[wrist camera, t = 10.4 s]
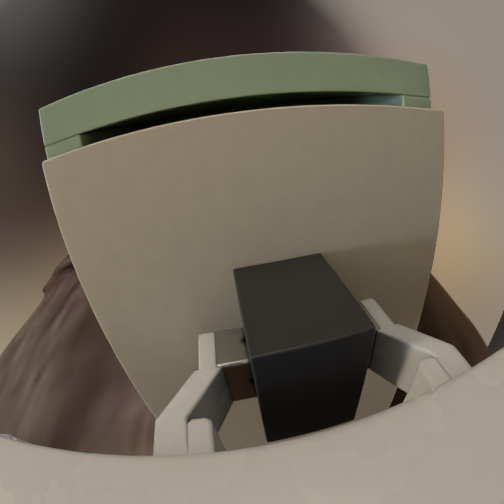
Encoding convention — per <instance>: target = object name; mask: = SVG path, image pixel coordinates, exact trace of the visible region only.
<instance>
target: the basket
mask: <svg viewBox="0 0 504 504" xmlns="http://www.w3.org/2000/svg"><path fill="white" fill-rule="evenodd" d="M42 165H43V170H44V174H45V178H46V182H47V186H48V190H49V193H50V197H51V201H52V204H53V208H54V211H55V214H56V218H57V221H58V224H59V227H60V230H61V233H62V236H63V239H64V241H65V244H66V247H67V250H68V252H69V255H70V258H71V260H72V263H73V266H74V268H75V271H76V273H77V276H78V278H79V280H80V283H81V285H82V287H83V290H84V292H85V294H86V296H87V299H88V301H89V303H90V305H91V307H92V309H93V312H94V314H95V316H96V318H97V320H98V322H99V324H100V326H101V328H102V330H103V332H104V334H105V336H106V338H107V339H108V341H109V343H110V345H111V347H112V349H113V351H114V352H115V354H116V356H117V358H118V360H119V361H120V363H121V365H122V366H123V368H124V370H125V372H126V373H127V375H128V377H129V378H130V380H131V381H132V383H133V385H134V386H135V388H136V389H137V391H138V393H139V394H140V396H141V397H142V399H143V400H144V402H145V403H146V405H147V406H148V408H149V409H150V411H151V412H152V414H153V415H154V416H155V418H156V419H157V418H158V417H159V416H160V415H161V413H162V412H163V411H164V410H165V408H166V407H167V406H168V404H169V403H170V402H171V401H172V399H173V398H174V397H175V396H176V394H177V393H178V392H179V390H180V389H181V388H182V387H183V385H184V384H185V383H186V381H187V380H188V379H189V377H190V376H191V375H192V374H193V372H194V371H197V370H199V339H198V337H199V334H204V333H211V332H216V331H223V330H230V329H236V328H244V333H245V338H246V343H247V348H248V353H249V358H250V363H251V368H252V373H253V378H254V383H255V388H256V393H257V397H253V398H249V399H244V400H238V401H233V404H232V406H231V408H230V410H229V412H228V414H227V416H226V418H225V420H224V422H223V424H222V426H221V428H220V430H219V432H218V435H219V437H220V439H221V441H222V443H223V445H224V447H225V449H226V451H228V450H236V449H243V448H249V447H255V446H261V445H266V444H271V443H276V442H281V441H285V440H290V439H294V438H298V437H302V436H306V435H310V434H314V433H318V432H321V431H325V430H328V429H331V428H335V427H338V426H341V425H344V424H347V423H351V422H353V421H356V420H359V419H362V418H365V417H368V416H370V415H373V414H376V413H378V412H381V411H384V410H386V409H389V407H390V405H391V402H392V400H393V397H394V395H395V392H396V390H397V386H395V385H393V384H392V383H390V382H389V381H387V380H385V379H384V378H382V377H381V376H379V375H378V374H376V373H374V372H373V371H371V370H370V368H368V364H369V360H370V355H371V350H372V346H373V341H374V335H375V330H376V327H375V325H374V324H373V323H372V321H371V320H370V318H369V317H368V316H367V314H366V313H365V311H364V310H363V309H362V307H361V306H360V305H359V303H358V302H359V301H362V300H366V299H369V298H372V299H374V300H375V301H376V302H377V304H378V305H379V306H380V307H381V308H382V310H383V311H384V312H385V313H386V315H387V316H388V317H389V318H390V319H391V321H392V322H393V323H394V324H395V325H396V324H400V325H403V326H405V327H408V328H410V329H413V330H415V331H417V328H418V324H419V321H420V317H421V313H422V309H423V305H424V301H425V297H426V293H427V288H428V284H429V279H430V274H431V269H432V264H433V259H434V253H435V247H436V240H437V234H438V226H439V217H440V208H441V199H442V186H443V169H444V114H443V111H442V110H436V109H427V108H417V107H405V106H389V105H358V104H337V105H306V106H289V107H276V108H265V109H256V110H247V111H239V112H232V113H225V114H218V115H212V116H205V117H200V118H194V119H189V120H184V121H179V122H174V123H169V124H164V125H160V126H155V127H151V128H147V129H143V130H139V131H135V132H131V133H127V134H124V135H120V136H117V137H113V138H110V139H106V140H103V141H100V142H96V143H93V144H90V145H87V146H84V147H81V148H78V149H75V150H72V151H69V152H66V153H64V154H61V155H58V156H56V157H53V158H50V159H48V160H45V161H43V162H42Z"/></svg>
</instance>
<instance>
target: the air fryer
mask: <svg viewBox="0 0 504 504" xmlns="http://www.w3.org/2000/svg"><path fill="white" fill-rule="evenodd" d="M429 97H430V89H429V78H428V69H427V65H425V64H421V63H416V62H411V61H405V60H399V59H393V58H386V57H378V56H369V55H360V54H348V53H329V52H273V53H257V54H244V55H234V56H225V57H217V58H210V59H203V60H197V61H191V62H186V63H180V64H175V65H171V66H166V67H162V68H157V69H153V70H149V71H145V72H141V73H137V74H133V75H130V76H126V77H123V78H120V79H116V80H113V81H110V82H107V83H104V84H100V85H98V86H95V87H92V88H89V89H86V90H83V91H81V92H78V93H76V94H73V95H70V96H68V97H66V98H63V99H61V100H58V101H56V102H54V103H51V104H49V105H47V106H45V107H42V108H40V109H39V115H40V122H41V128H42V134H43V140H44V145H45V146H47V147H46V148H45V150H46V155H47V159H50V158H53V157H56V156H58V155H61V154H64V153H66V152H69V151H72V150H75V149H78V148H81V147H84V146H87V145H90V144H93V143H96V142H100V141H103V140H106V139H110V138H113V137H117V136H120V135H124V134H127V133H131V132H135V131H139V130H143V129H147V128H151V127H155V126H160V125H164V124H169V123H174V122H179V121H184V120H189V119H194V118H200V117H205V116H212V115H218V114H225V113H232V112H239V111H247V110H256V109H265V108H276V107H289V106H306V105H337V104H358V105H389V106H405V107H417V108H427V109H431V101H430V99H429Z"/></svg>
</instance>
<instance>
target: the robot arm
mask: <svg viewBox="0 0 504 504" xmlns="http://www.w3.org/2000/svg"><path fill="white" fill-rule="evenodd" d="M358 303H359V305H360V306H361V307H362V309H363V310H364V311H365V313H366V314H367V316H368V317H369V318H370V320H371V321H372V323H373V324H374V325H375V327H376V330H375V335H374V341H373V346H372V350H371V355H370V360H369V364H368V368H370V370H371V371H373V372H374V373H376V374H378V375H379V376H381V377H382V378H384V379H385V380H387V381H389V382H390V383H392V384H393V385H395V386H397V387H398V388H400V389H401V390H403V391H405V392H406V393H407V395H406V397H405V399H404V401H403V403H401V404H398V405H396V406H394V407H391V408H389V409H386V410H384V411H381V412H378V413H376V414H373V415H370V416H368V417H365V418H362V419H359V420H356V421H353V422H351V423H347V424H344V425H341V426H338V427H335V428H331V429H328V430H325V431H321V432H318V433H314V434H310V435H306V436H302V437H298V438H294V439H290V440H285V441H281V442H276V443H271V444H266V445H261V446H255V447H249V448H243V449H236V450H228V451H226V449H225V447H224V445H223V443H222V441H221V439H220V437H219V435H218V432H219V430H220V428H221V426H222V424H223V422H224V420H225V418H226V416H227V414H228V412H229V410H230V408H231V406H232V404H233V401H238V400H244V399H249V398H253V397H257V393H256V388H255V383H254V378H253V373H252V368H251V363H250V358H249V353H248V348H247V343H246V338H245V333H244V328H236V329H230V330H223V331H216V332H211V333H204V334H199V337H198V339H199V370H197V371H194V372H193V374H192V375H191V376H190V377H189V379H188V380H187V381H186V383H185V384H184V385H183V387H182V388H181V389H180V390H179V392H178V393H177V394H176V396H175V397H174V398H173V399H172V401H171V402H170V403H169V404H168V406H167V407H166V408H165V410H164V411H163V412H162V413H161V415H160V416H159V417H158V418H157V420H156V421H155V436H154V455H153V456H127V455H107V454H95V453H85V452H76V451H69V450H62V449H55V448H50V447H44V446H39V445H34V444H29V443H25V442H21V441H16V440H13V439H9V438H5V437H2V436H0V504H504V347H503V348H502V349H500V350H499V351H497V352H496V353H494V354H493V355H491V356H490V357H488V358H486V359H485V360H483V361H482V362H480V363H478V364H477V365H475V366H473V367H471V366H470V365H469V364H468V362H467V361H466V360H465V359H464V358H463V356H462V355H461V354H460V353H459V352H458V350H457V349H456V348H455V347H454V346H453V345H451V344H449V343H446V342H444V341H441V340H438V339H436V338H433V337H431V336H428V335H426V334H423V333H421V332H418V331H415V330H413V329H410V328H408V327H405V326H403V325H400V324H396V325H395V324H394V323H393V322H392V321H391V319H390V318H389V317H388V316H387V315H386V313H385V312H384V311H383V310H382V308H381V307H380V306H379V305H378V304H377V302H376V301H375V300H374V299H372V298H369V299H366V300H362V301H359V302H358Z"/></svg>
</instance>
